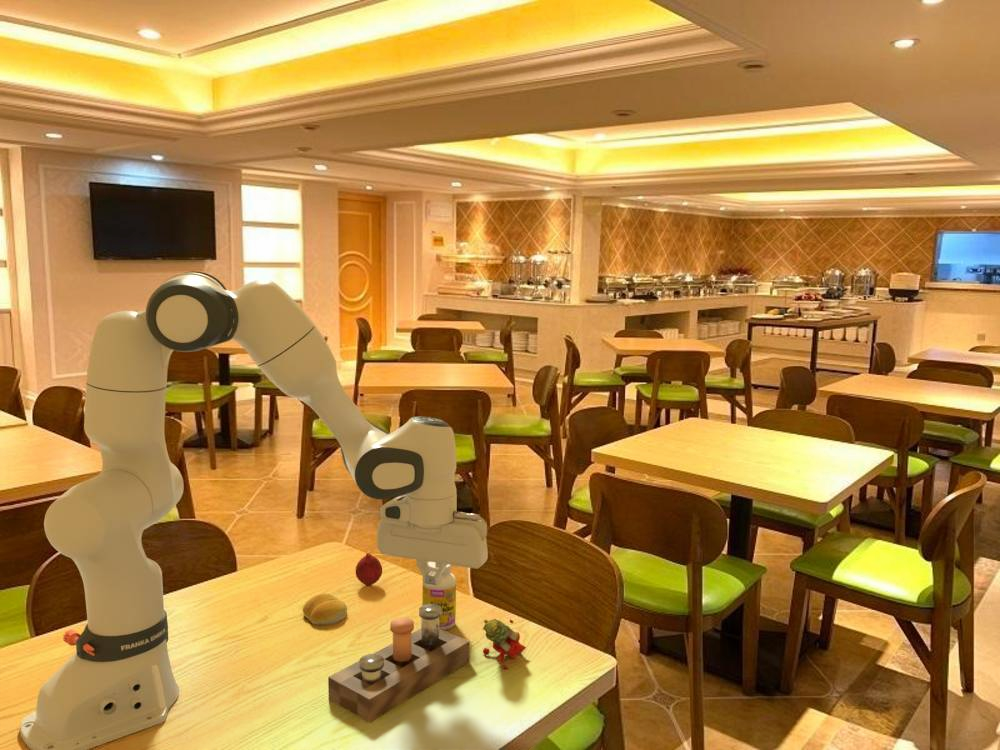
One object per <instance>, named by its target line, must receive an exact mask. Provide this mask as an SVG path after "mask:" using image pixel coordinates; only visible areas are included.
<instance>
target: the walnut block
mask: <svg viewBox="0 0 1000 750" xmlns="http://www.w3.org/2000/svg"><path fill="white" fill-rule="evenodd" d="M372 654H378V655H381V656H382V657H383V658H384V667H383V668H382V669H381V680H379V681H378V682H376V683H374V684H372V685H369V684H367V683H365V682H363V681H362V670H361V669H360V668H359V660H358V661H356V662H354V663H352V664H351V665H349V666H347V667H345V668H343V669H340V670H338V671H337V672H335V673H334V674H332V675H329V676H328V680H327V681H328V682H327V684H328V686H327V689H328V700H329V701H330V702H333V703H334V704H336V705H338V706H339V707H341V708H343V709H344V710H347V711H348V712H350V713H351V714H354V715H355V716H357V717H358V718H360V719H362V720H363V721H365V722H367V723H369V724H370V723H372V722H374V721H375V720H377V719H378V718H380V717H382V716H383V715H385V714H387V713H388V712H390V711H391V710H393V709H394V708H395V709H396V707H398V706H400V705H401V704H403V703H404V702H407V701H408V700H409V699H411V698H412V697H414V696H416V695H418V694H419V693H421V692H422V691H424V690H426V689H427V688H429V687H431V686H432V685H434V684H436V683H437V682H439V681H440V680H442V679H443V678H445V677H447V676H448V675H450V674H453V672H455V671H456V670H459V669H460V668H461V667H463V666H465V665H467V664H468V663H470V641H469V640H467V639H465V638H463V637H460V636H458V635H455V634H453V633H450V632H448V631H447V630H441V629H439V643H438V644H436V645H433V646H426V645H423V644H422V643H421V628H420V629H418V630H416V631H414V632H412V650H411V659H409V660H407V661H403V662H400V661H396V660H394V659H393V643H391V644H389V645H387V646H385V647H383V648H381V649H378V650H377V651H376V652H373V653H372Z"/></svg>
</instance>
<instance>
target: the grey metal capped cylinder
mask: <svg viewBox="0 0 1000 750" xmlns="http://www.w3.org/2000/svg"><path fill="white" fill-rule="evenodd" d="M358 661H359V668H360V669H361V670H362V681H363V682H365V683H367V684H369V685H372V684H374V683H376V682H378V681H379V680H381V669H382V668H383V667H384V658H383V657H382V656H381V655H378V654H373V653H368V654H365V655H362V656H361V657H360V658H359V660H358Z"/></svg>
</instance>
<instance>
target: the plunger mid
mask: <svg viewBox="0 0 1000 750" xmlns="http://www.w3.org/2000/svg"><path fill="white" fill-rule="evenodd" d="M389 628H390V632H391V633H392V644H393V659H394V660H396V661H400V662H403V661H407V660H409V659H411V650H412V633H413V631H414V630H415V622H414V620H413V619H412V618H408V617H397V618H394V619H393V620H391V621H390V627H389Z"/></svg>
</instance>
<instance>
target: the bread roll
mask: <svg viewBox="0 0 1000 750" xmlns="http://www.w3.org/2000/svg"><path fill="white" fill-rule="evenodd" d="M347 612H348V606H347V604H346V602H344V601H342V600H340V599H339V598H338V597H336V596H335V595H334V594H330V593H319V594H316V595H314V596H312V597H311V598H309V600H307V601H306V602H305V603H304V605H303V607H302V613H303V615H304V616H305V618H306V619H308V620H309V621H310V622H311V623H312V624H314V625H317V626H318V625H323V626H324V625H333V624H337V623H339V622H341V621H342V620H343V619H344V618H345V617H346V615H347Z"/></svg>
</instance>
